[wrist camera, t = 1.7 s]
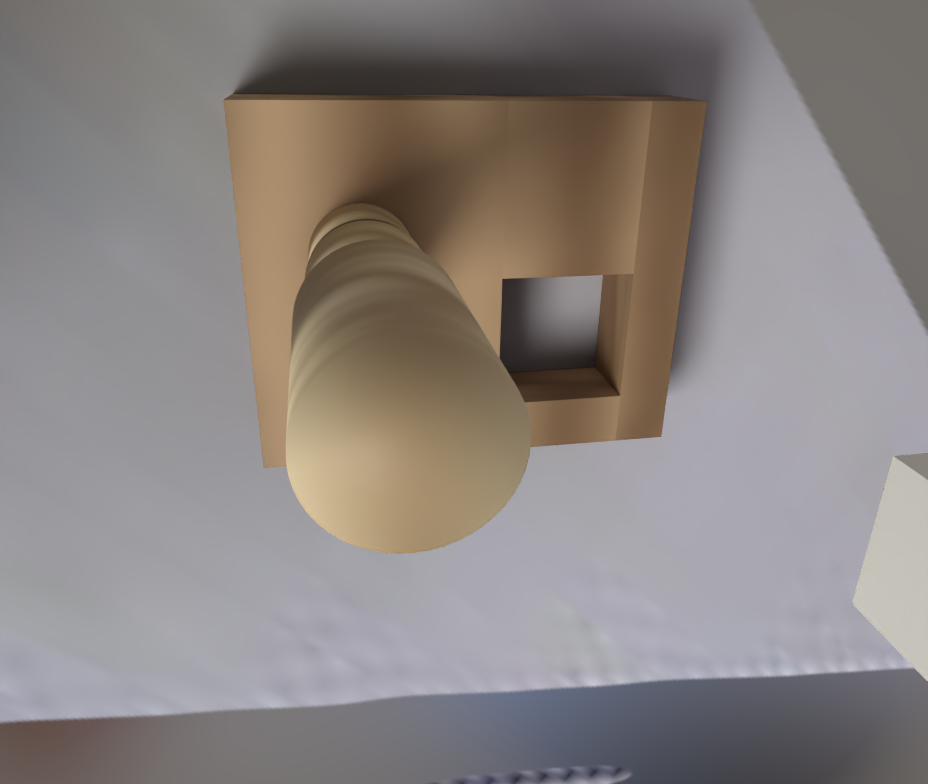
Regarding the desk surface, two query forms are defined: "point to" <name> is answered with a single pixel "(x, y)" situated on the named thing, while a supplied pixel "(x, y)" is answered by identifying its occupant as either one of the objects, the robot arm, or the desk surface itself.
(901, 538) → the robot arm
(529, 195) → the board
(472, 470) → the leg peg
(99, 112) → the desk surface
